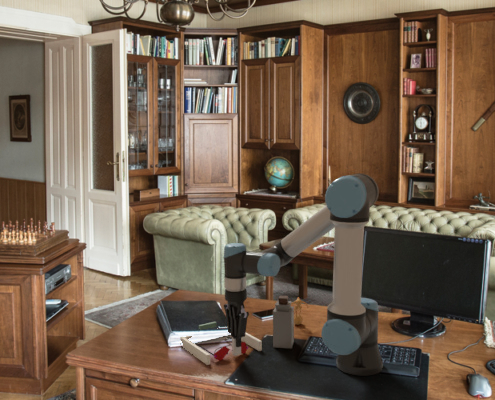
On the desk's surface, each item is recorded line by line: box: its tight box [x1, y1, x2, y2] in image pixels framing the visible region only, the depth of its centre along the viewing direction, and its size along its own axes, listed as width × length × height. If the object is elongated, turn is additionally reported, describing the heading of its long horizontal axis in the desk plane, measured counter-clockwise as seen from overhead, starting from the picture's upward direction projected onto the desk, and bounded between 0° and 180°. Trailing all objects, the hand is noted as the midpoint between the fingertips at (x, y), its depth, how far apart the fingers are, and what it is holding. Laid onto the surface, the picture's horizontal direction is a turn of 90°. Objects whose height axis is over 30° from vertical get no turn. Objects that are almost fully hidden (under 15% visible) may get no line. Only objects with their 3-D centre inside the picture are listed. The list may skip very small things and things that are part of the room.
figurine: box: [291, 296, 309, 326], centre depth 224 cm, size 8×6×12 cm
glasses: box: [196, 336, 249, 361], centre depth 200 cm, size 14×16×5 cm
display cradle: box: [179, 321, 263, 366], centre depth 202 cm, size 20×22×6 cm
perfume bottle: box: [272, 295, 295, 349], centre depth 204 cm, size 7×7×18 cm
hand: (236, 354), depth 193 cm, fingers closed
